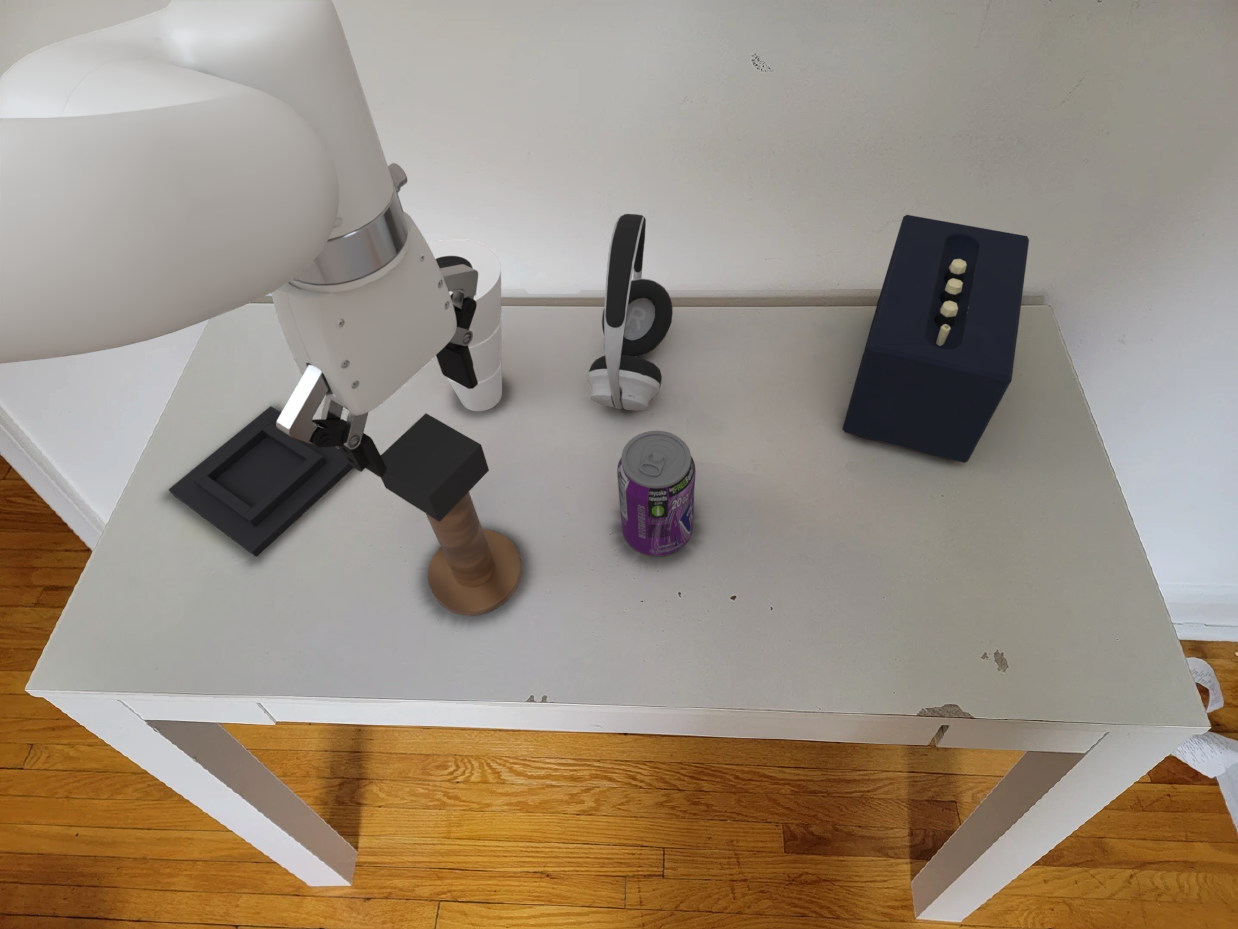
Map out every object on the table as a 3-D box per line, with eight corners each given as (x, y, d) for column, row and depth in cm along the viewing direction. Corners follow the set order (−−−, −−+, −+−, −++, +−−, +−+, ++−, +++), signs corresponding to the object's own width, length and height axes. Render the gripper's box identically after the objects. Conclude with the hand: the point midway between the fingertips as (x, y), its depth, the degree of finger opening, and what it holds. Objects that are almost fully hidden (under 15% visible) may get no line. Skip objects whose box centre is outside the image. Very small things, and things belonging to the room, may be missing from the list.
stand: (480, 633, 71) (440, 545, 59) (411, 585, 75) (359, 492, 62) (540, 562, 76) (515, 466, 63) (472, 519, 79) (435, 420, 66)
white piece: (416, 407, 88) (368, 285, 74) (475, 350, 94) (441, 226, 79) (487, 445, 85) (451, 324, 70) (545, 384, 90) (522, 259, 75)
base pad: (256, 557, 77) (246, 546, 76) (172, 494, 83) (161, 482, 81) (357, 463, 84) (350, 451, 82) (274, 411, 89) (266, 398, 87)
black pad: (439, 522, 60) (428, 497, 57) (385, 488, 62) (372, 462, 59) (489, 470, 63) (481, 444, 60) (436, 439, 65) (425, 412, 62)
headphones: (608, 317, 96) (598, 173, 80) (675, 321, 95) (678, 176, 79) (582, 436, 85) (564, 297, 69) (658, 442, 84) (657, 302, 68)
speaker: (875, 311, 94) (906, 205, 82) (984, 334, 91) (1033, 228, 79) (838, 441, 83) (868, 340, 71) (962, 473, 80) (1016, 374, 67)
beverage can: (675, 570, 74) (677, 501, 65) (610, 544, 76) (602, 474, 67) (703, 513, 78) (708, 440, 68) (639, 490, 80) (636, 416, 70)
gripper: (397, 134, 48) (457, 332, 62) (166, 293, 40) (294, 479, 54) (487, 170, 45) (529, 368, 59) (258, 348, 38) (368, 529, 51)
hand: (417, 421), depth 57 cm, fingers open, 9 cm apart
